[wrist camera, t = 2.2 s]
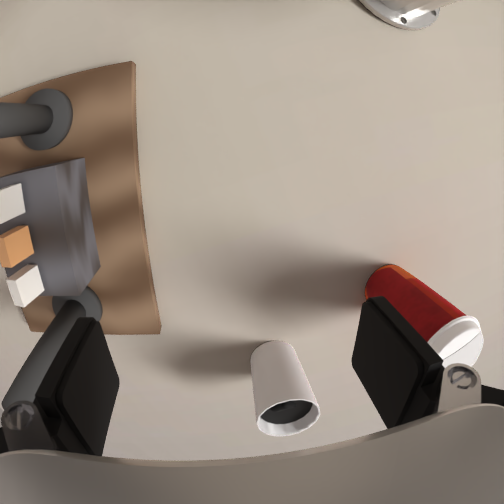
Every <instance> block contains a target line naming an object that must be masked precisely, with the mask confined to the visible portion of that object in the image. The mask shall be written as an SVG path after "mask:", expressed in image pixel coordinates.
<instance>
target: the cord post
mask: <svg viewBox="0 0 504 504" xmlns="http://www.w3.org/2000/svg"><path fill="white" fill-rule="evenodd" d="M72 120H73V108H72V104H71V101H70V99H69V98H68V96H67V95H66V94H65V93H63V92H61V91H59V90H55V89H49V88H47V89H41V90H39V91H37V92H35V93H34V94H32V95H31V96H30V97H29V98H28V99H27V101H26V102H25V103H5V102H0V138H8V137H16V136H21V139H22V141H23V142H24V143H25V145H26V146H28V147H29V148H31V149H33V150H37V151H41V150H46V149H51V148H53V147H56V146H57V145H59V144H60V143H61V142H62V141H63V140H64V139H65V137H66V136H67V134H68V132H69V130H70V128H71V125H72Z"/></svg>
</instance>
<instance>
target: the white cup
mask: <svg viewBox="0 0 504 504" xmlns="http://www.w3.org/2000/svg"><path fill="white" fill-rule="evenodd" d="M250 363H251V373H252V383H253V393H254V403H255V412H256V422H257V425H258V428H259V430H261V431H262V432H264V433H265V434H268V435H272V436H289V435H293V434H296V433H300V432H302V431H304V430H306V429H308V428H309V427H311V426H312V425H313V424H314V423H315V422H316V421H317V419H318V417H319V415H320V408H319V405H318V403H317V400H316V398H315V396H314V394H313V391H312V389H311V387H310V384H309V382H308V380H307V377H306V375H305V373H304V370H303V368H302V366H301V364H300V361H299V359H298V357H297V354H296V352H295V350H294V348H293V347H292V346H291V345H290V344H288V343H286V342H283V341H270V342H267V343H263V344H262V345H260V346H259V347H257V348H256V349H255V350H254V352H253V353H252V355H251V360H250Z"/></svg>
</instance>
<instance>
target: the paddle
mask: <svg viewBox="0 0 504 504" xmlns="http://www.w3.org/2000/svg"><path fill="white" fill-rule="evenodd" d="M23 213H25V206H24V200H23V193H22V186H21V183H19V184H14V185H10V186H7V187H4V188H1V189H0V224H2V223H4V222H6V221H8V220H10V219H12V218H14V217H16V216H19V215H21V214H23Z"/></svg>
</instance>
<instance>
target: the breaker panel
mask: <svg viewBox="0 0 504 504" xmlns="http://www.w3.org/2000/svg"><path fill="white" fill-rule="evenodd" d="M47 88H49V89H55V90H59V91H61V92H63V93H65V94H66V95H67V96H68V98H69V99H70V101H71V104H72V108H73V120H72V125H71V128H70V130H69V132H68V134H67V136H66V137H65V139H64V140H63V141H62V142H61V143H60V144H59V145H57V146H56V147H53V148H51V149H46V150H41V151H37V150H33V149H31V148H29V147H28V146H26V145H25V143H24V142H23V141H22V139H21V136H16V137H8V138H0V189H1V188H4V187H7V186H10V185H14V184H19V183H21V186H22V193H23V200H24V206H25V213H23V214H21V215H19V216H16V217H14V218H12V219H10V220H8V221H6V222H4V223H2V224H0V235H2V234H3V233H5V232H7V231H9V230H11V229H13V228H15V227H17V226H24V225H28V227H29V232H30V237H31V241H32V246H33V250H34V253H33V254H32V255H30V256H29V257H27V258H26V259H24V260H23V261H21V262H19V263H18V264H16V265H15V266H13V267H12V268H8V267H5V270H6V274H7V277H8V278H9V277H10V276H11V275H13V274H14V273H16V272H17V271H19V270H20V269H21V268H23V267H24V266H26V265H27V264H29V265H37V266H38V269H39V273H40V276H41V280H42V283H43V287H44V291H43V292H42V293H41V294H40V295H38V296H37V297H36V298H35V299H34V300H33V301H31V302H30V303H29V304H28V305H27V306H26V307H22V310H23V313H24V315H25V318H26V320H27V323H28V325H29V328H30V330H31V331H32V332H45V331H46V329H47V328H48V326H49V325H50V323H51V322H52V320H53V319H54V318H55V316H56V315H55V313H54V311H53V307H52V298H53V296H80V295H81V293H82V292H83V290H84V289H85V288H86V286H88V287H90V288H91V289H92V290H93V291H94V292H95V293H96V294H97V296H98V297H99V299H100V301H101V304H102V309H103V313H102V317H101V320H100V324H101V327H102V330H103V333H104V334H116V335H134V334H160V331H161V322H160V317H159V312H158V306H157V301H156V295H155V290H154V284H153V278H152V272H151V266H150V259H149V252H148V245H147V238H146V230H145V222H144V214H143V205H142V195H141V185H140V173H139V160H138V144H137V123H136V64H135V63H134V62H132V61H129V62H124V63H118V64H113V65H108V66H103V67H98V68H94V69H90V70H86V71H81V72H78V73H74V74H70V75H66V76H63V77H59V78H56V79H52V80H49V81H46V82H43V83H40V84H37V85H34V86H31V87H28V88H25V89H22V90H20V91H17V92H14V93H12V94H9V95H7V96H4V97H2V98H0V102H5V103H25V102H26V101H27V99H28V98H29V97H30V96H31V95H32V94H34V93H35V92H37V91H39V90H41V89H47Z"/></svg>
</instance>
